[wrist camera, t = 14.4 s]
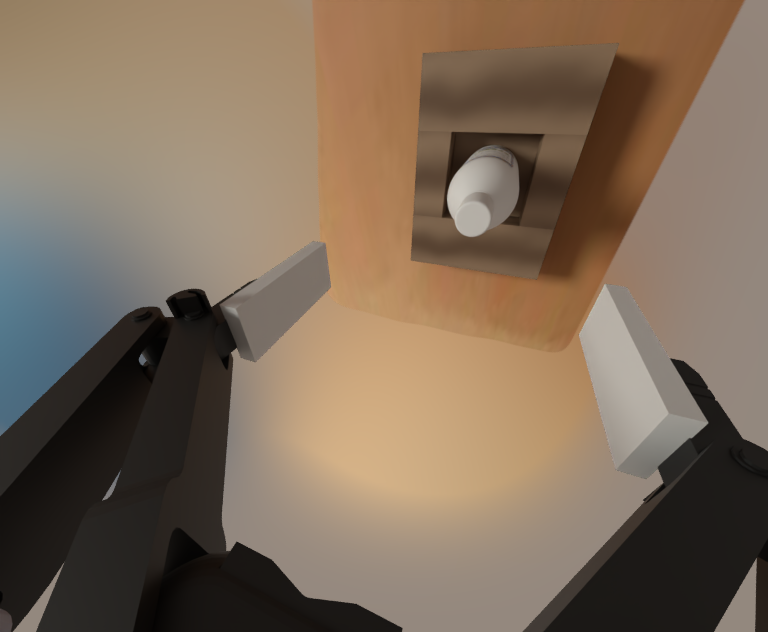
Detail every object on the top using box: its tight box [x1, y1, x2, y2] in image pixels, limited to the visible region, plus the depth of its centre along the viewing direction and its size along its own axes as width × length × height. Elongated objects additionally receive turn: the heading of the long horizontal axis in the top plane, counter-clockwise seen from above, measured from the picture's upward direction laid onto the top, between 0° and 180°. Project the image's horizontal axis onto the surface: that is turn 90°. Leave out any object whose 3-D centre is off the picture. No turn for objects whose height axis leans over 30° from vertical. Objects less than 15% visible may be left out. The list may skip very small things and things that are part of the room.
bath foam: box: [447, 145, 520, 237], centre depth 31 cm, size 7×7×20 cm
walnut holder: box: [411, 43, 619, 280], centre depth 37 cm, size 24×18×5 cm
